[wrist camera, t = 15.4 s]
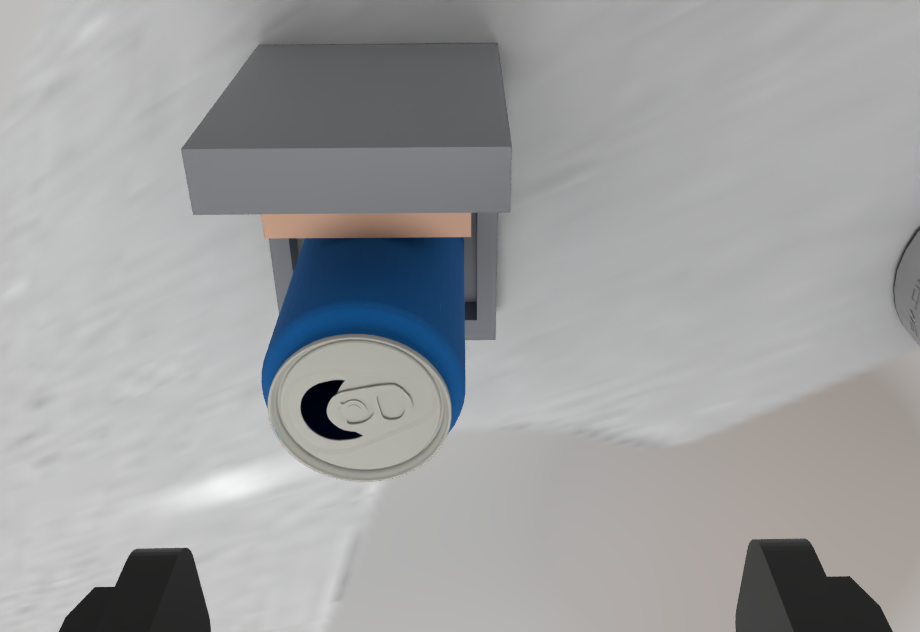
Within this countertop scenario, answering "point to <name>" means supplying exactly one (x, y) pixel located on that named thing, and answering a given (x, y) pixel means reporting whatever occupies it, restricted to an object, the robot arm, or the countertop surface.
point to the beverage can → (369, 355)
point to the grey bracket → (363, 146)
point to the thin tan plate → (367, 225)
